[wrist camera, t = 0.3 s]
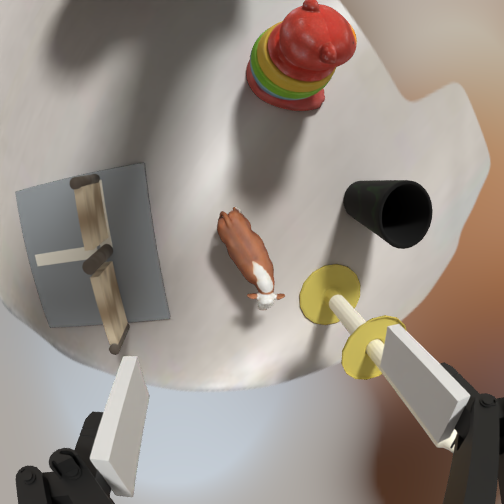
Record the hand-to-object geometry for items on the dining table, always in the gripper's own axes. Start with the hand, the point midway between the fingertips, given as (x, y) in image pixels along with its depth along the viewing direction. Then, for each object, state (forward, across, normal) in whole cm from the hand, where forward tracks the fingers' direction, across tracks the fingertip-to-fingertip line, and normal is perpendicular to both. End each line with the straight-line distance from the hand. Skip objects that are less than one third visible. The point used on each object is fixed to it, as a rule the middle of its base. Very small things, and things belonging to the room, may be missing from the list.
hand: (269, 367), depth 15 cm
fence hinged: (+27, -17, -7) cm, 33 cm away
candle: (+28, +14, -10) cm, 33 cm away
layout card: (+28, -21, -1) cm, 35 cm away
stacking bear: (+29, +8, +21) cm, 37 cm away
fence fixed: (+28, -17, +4) cm, 33 cm away
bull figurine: (+28, +2, -2) cm, 29 cm away
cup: (+28, +19, +4) cm, 34 cm away
